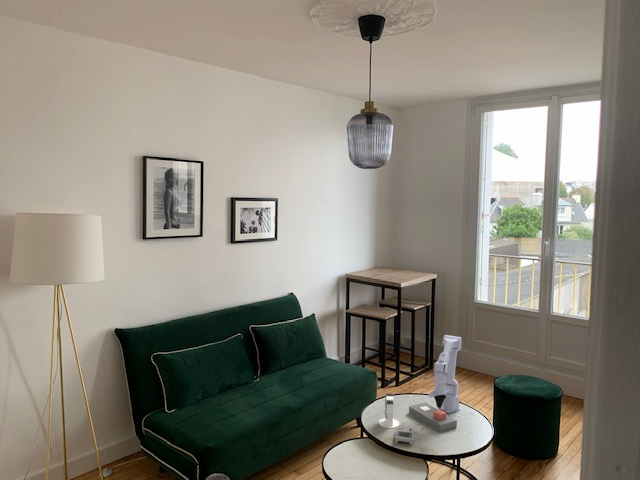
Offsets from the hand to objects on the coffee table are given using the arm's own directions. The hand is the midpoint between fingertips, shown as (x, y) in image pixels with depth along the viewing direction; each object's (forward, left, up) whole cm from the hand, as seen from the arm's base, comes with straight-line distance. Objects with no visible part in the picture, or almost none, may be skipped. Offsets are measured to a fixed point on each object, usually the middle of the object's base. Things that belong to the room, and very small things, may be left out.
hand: (439, 407), depth 269 cm
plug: (0, -11, -9) cm, 15 cm away
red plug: (0, +1, -6) cm, 7 cm away
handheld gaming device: (+26, +4, -10) cm, 29 cm away
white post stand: (+24, -13, -10) cm, 29 cm away
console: (0, -5, -10) cm, 11 cm away
